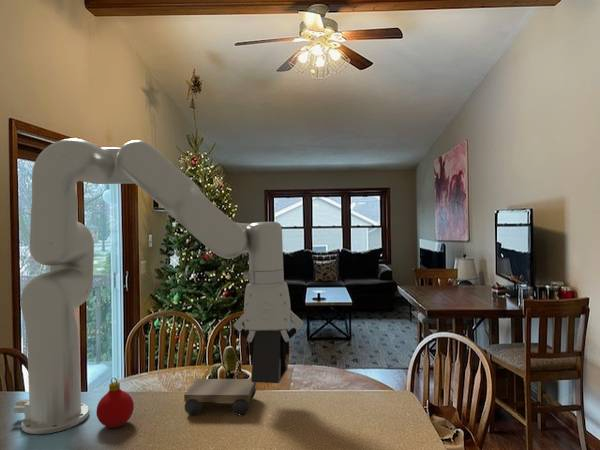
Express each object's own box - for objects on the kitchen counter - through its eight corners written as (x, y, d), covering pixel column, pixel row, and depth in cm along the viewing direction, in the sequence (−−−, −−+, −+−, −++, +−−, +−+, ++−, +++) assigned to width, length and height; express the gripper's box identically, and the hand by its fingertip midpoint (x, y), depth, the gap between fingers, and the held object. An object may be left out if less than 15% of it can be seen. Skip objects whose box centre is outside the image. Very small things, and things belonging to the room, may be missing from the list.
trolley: (184, 415, 94) (184, 394, 93) (197, 397, 103) (196, 378, 102) (249, 415, 93) (248, 395, 93) (255, 397, 102) (255, 379, 102)
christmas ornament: (89, 430, 88) (87, 381, 88) (117, 415, 95) (115, 369, 94) (114, 437, 85) (112, 386, 85) (141, 421, 92) (140, 374, 91)
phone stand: (278, 383, 92) (276, 327, 92) (251, 382, 93) (249, 327, 93) (288, 368, 101) (286, 317, 100) (263, 367, 102) (261, 316, 102)
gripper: (224, 281, 93) (227, 364, 94) (304, 279, 92) (307, 363, 93) (231, 276, 101) (234, 353, 101) (306, 274, 100) (309, 352, 100)
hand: (269, 357), depth 97 cm, fingers closed on phone stand, 6 cm apart
